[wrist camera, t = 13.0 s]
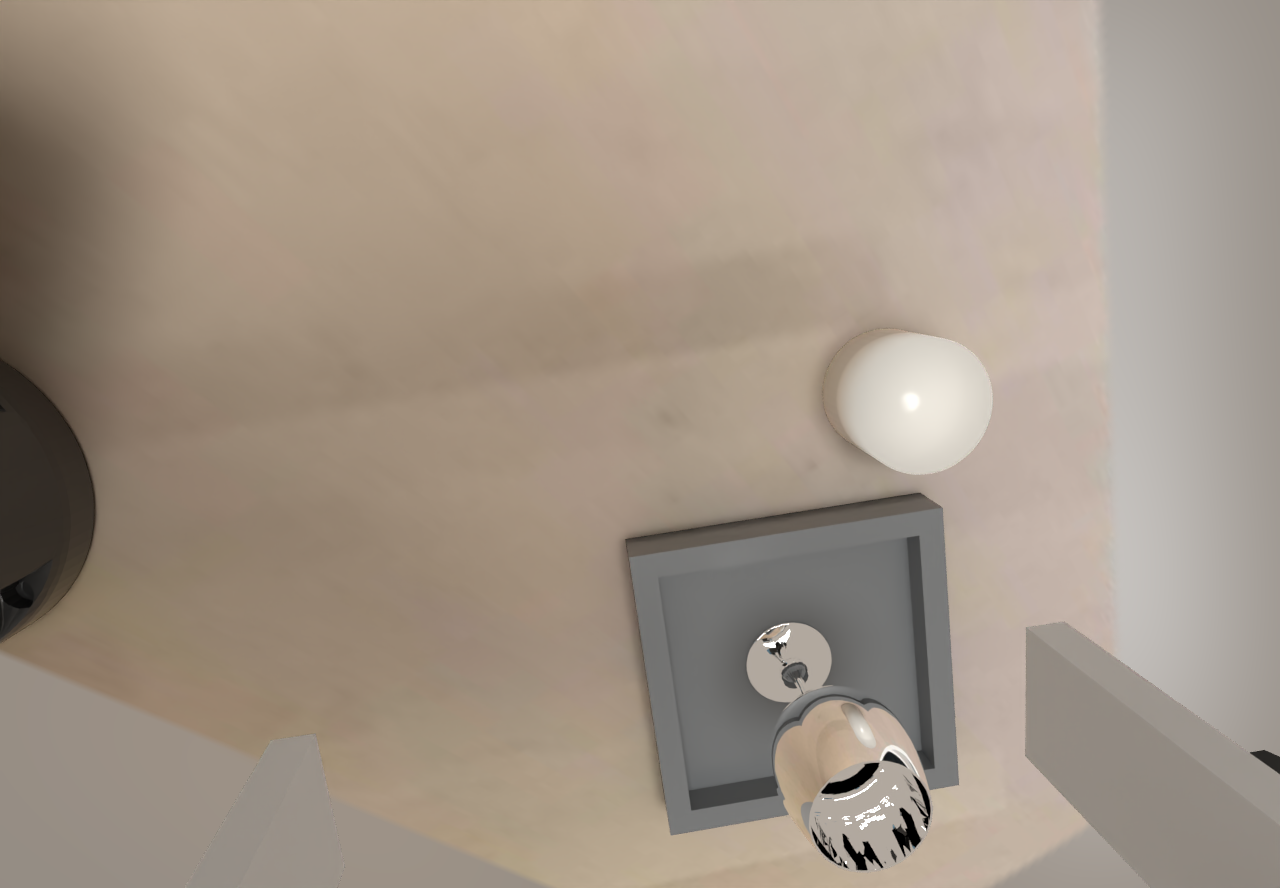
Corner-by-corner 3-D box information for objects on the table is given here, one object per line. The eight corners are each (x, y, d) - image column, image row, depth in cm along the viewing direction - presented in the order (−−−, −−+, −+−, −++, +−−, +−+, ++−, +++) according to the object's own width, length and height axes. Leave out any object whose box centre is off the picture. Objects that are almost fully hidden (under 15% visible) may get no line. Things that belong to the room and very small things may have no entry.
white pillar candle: (828, 458, 40) (862, 484, 36) (816, 338, 39) (851, 348, 34) (945, 439, 41) (995, 462, 36) (938, 319, 39) (989, 326, 35)
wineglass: (711, 684, 41) (763, 849, 30) (769, 590, 40) (847, 721, 29) (806, 731, 42) (893, 908, 31) (865, 639, 41) (978, 785, 30)
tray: (665, 802, 44) (670, 835, 41) (625, 539, 40) (629, 557, 38) (936, 755, 44) (958, 784, 42) (919, 492, 41) (942, 507, 39)
